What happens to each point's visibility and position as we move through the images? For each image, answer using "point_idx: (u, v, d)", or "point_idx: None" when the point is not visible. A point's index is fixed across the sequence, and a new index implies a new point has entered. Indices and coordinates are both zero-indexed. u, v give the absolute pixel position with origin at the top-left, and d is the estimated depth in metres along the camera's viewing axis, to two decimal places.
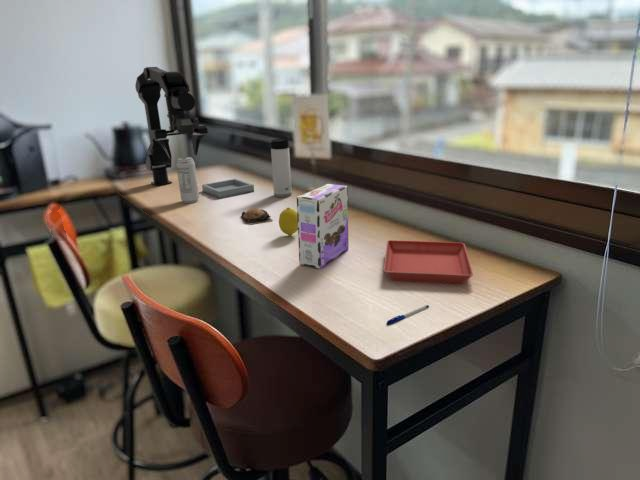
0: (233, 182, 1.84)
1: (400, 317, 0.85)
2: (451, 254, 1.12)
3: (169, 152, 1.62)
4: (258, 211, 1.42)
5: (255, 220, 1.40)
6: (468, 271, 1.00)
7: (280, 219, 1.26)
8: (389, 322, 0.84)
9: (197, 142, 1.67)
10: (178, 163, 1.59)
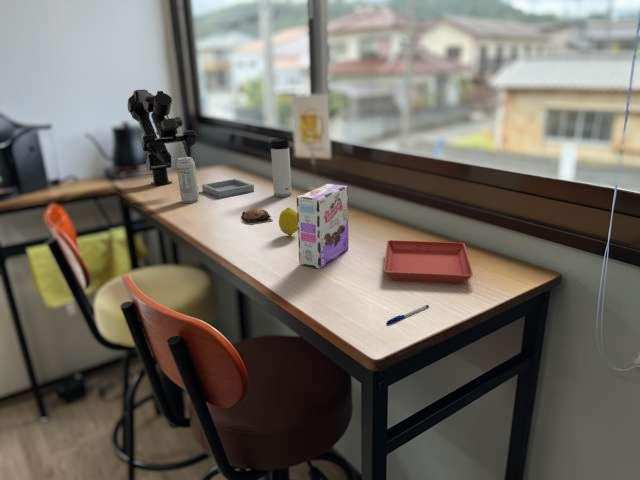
0: (233, 182, 1.84)
1: (400, 317, 0.85)
2: (451, 254, 1.12)
3: (161, 154, 1.65)
4: (258, 211, 1.42)
5: (255, 220, 1.40)
6: (468, 271, 1.00)
7: (280, 219, 1.26)
8: (389, 322, 0.84)
9: (188, 145, 1.70)
10: (178, 163, 1.59)
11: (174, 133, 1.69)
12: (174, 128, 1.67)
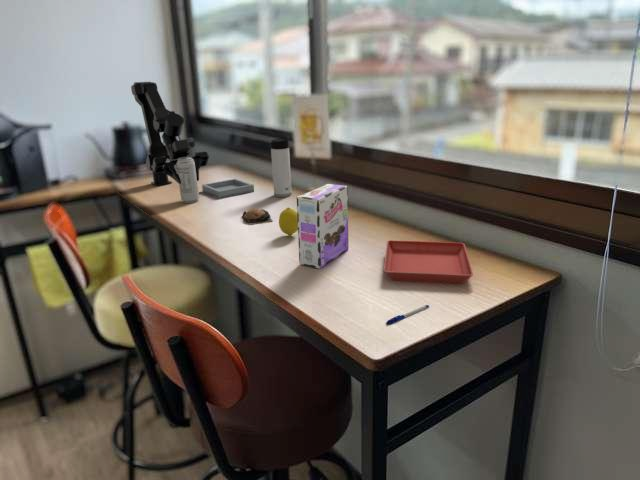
0: (233, 182, 1.84)
1: (400, 317, 0.86)
2: (451, 254, 1.12)
3: (177, 176, 1.60)
4: (258, 211, 1.42)
5: (254, 220, 1.40)
6: (468, 271, 1.00)
7: (280, 219, 1.26)
8: (389, 322, 0.84)
9: (196, 167, 1.64)
10: (178, 163, 1.59)
11: (186, 154, 1.64)
12: (186, 149, 1.61)
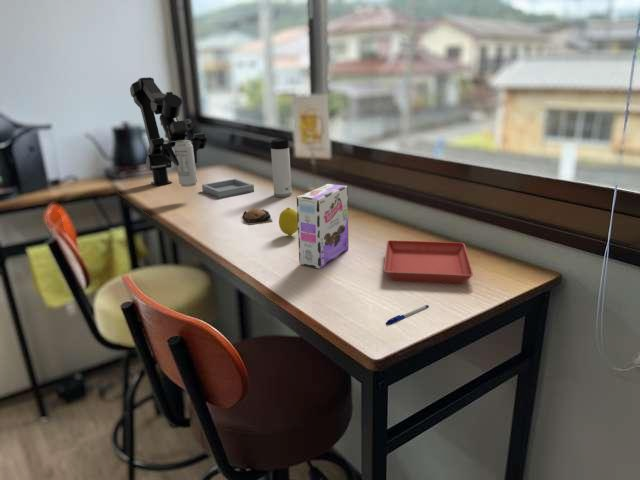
0: (233, 182, 1.84)
1: (400, 317, 0.86)
2: (451, 254, 1.12)
3: (175, 157, 1.58)
4: (258, 211, 1.42)
5: (254, 220, 1.40)
6: (468, 271, 1.00)
7: (280, 219, 1.26)
8: (389, 322, 0.84)
9: (194, 149, 1.62)
10: (176, 146, 1.57)
11: (184, 136, 1.62)
12: (184, 131, 1.59)
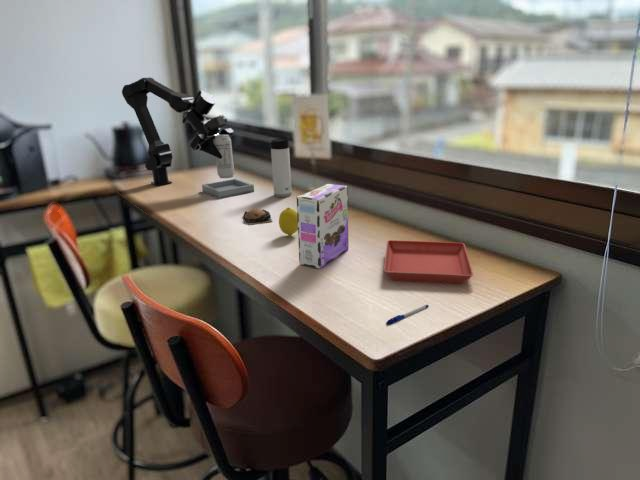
0: (233, 182, 1.84)
1: (400, 317, 0.86)
2: (451, 254, 1.12)
3: (218, 151, 1.68)
4: (258, 211, 1.42)
5: (254, 220, 1.40)
6: (468, 271, 1.00)
7: (280, 219, 1.26)
8: (389, 322, 0.84)
9: None
10: (219, 140, 1.67)
11: (217, 131, 1.72)
12: (220, 126, 1.70)
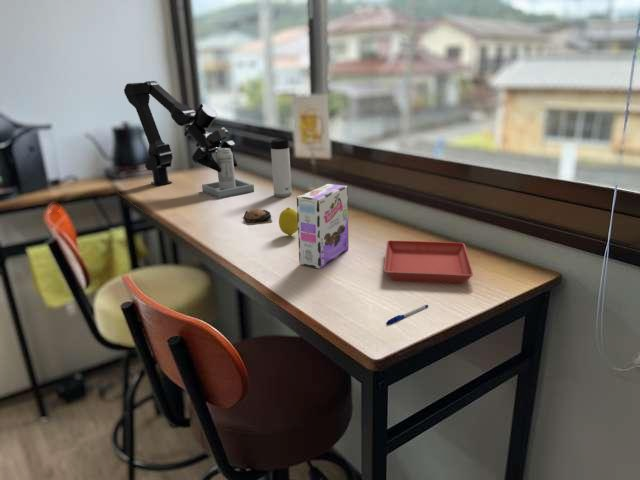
0: None
1: (400, 317, 0.86)
2: (451, 254, 1.12)
3: (217, 164, 1.69)
4: (258, 211, 1.42)
5: (254, 220, 1.40)
6: (468, 270, 1.00)
7: (280, 219, 1.26)
8: (389, 322, 0.84)
9: None
10: (220, 154, 1.69)
11: (218, 144, 1.74)
12: (221, 139, 1.72)
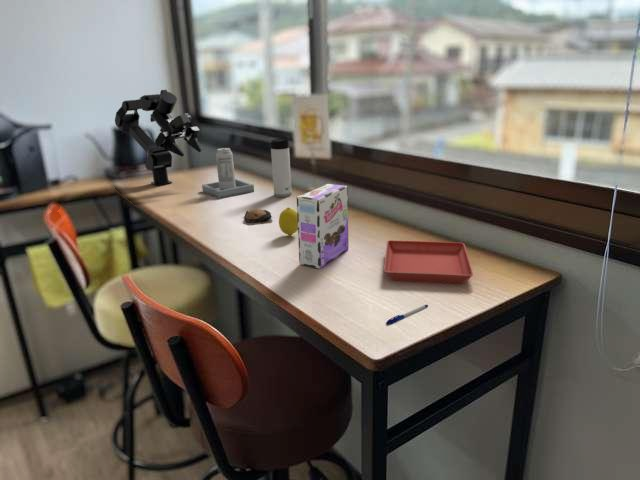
0: None
1: (399, 317, 0.86)
2: (451, 254, 1.12)
3: (179, 149, 1.72)
4: (258, 212, 1.41)
5: (254, 220, 1.40)
6: (468, 271, 1.00)
7: (280, 219, 1.26)
8: (389, 322, 0.84)
9: (196, 139, 1.81)
10: (220, 154, 1.69)
11: (182, 129, 1.78)
12: (185, 124, 1.76)
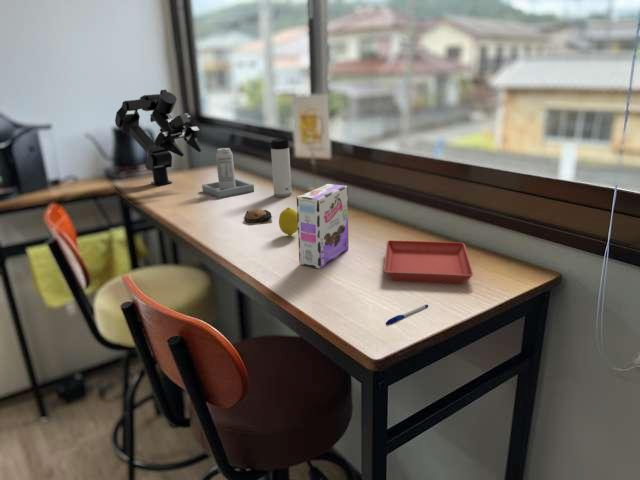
0: None
1: (400, 317, 0.86)
2: (451, 254, 1.12)
3: (179, 149, 1.72)
4: (259, 212, 1.41)
5: (253, 220, 1.40)
6: (468, 271, 1.00)
7: (280, 219, 1.26)
8: (389, 322, 0.84)
9: (195, 139, 1.80)
10: (220, 154, 1.69)
11: (182, 129, 1.78)
12: (184, 124, 1.76)
